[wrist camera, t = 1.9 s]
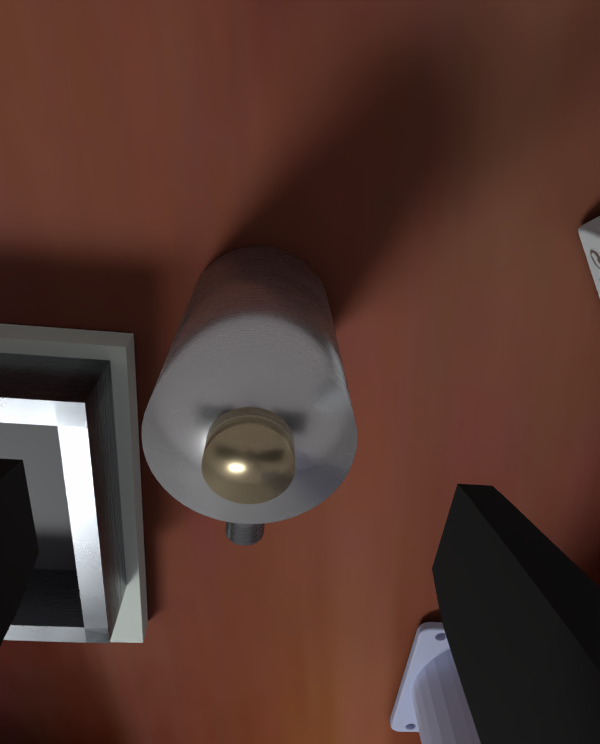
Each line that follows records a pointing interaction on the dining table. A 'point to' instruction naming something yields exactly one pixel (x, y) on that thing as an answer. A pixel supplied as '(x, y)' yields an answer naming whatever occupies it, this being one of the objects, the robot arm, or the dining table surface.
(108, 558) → the box
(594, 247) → the skincare box
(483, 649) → the robot arm
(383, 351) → the dining table surface
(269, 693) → the dining table surface
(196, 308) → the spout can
